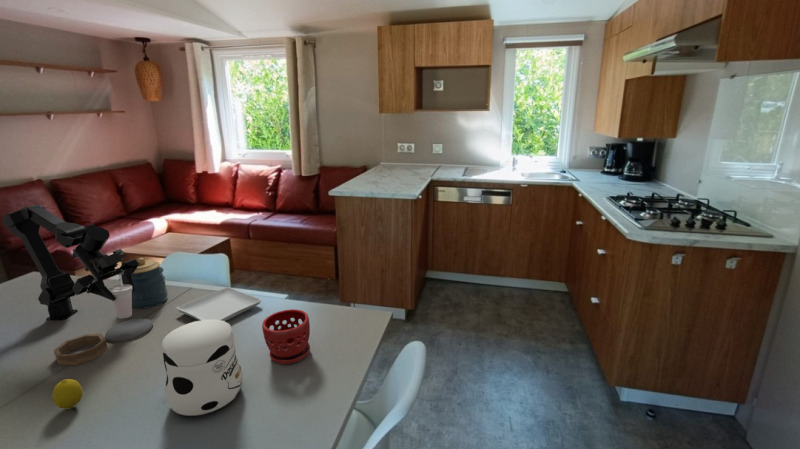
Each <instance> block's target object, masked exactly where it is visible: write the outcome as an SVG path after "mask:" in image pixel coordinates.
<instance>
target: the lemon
mask: <svg viewBox="0 0 800 449" xmlns="http://www.w3.org/2000/svg"><path fill="white" fill-rule="evenodd" d="M51 396H52V401H53V403H54V405H55V406H56V407H58V408H59V409H63V410H65V409H66V410H68V409H73V408H74V407H75V406H77V404H79V403H80V401H81V400H82V397H83V388H82V385H81V383H80V382H78V380H76V379H72V378H71V379H70V378H67V379H65V378H64V379H62V380H61V381H60V382H58V383H57V384H56V385H55V386H54V388H53V391H52V395H51Z"/></svg>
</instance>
